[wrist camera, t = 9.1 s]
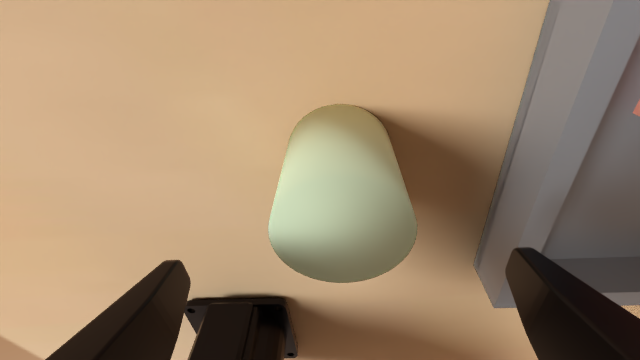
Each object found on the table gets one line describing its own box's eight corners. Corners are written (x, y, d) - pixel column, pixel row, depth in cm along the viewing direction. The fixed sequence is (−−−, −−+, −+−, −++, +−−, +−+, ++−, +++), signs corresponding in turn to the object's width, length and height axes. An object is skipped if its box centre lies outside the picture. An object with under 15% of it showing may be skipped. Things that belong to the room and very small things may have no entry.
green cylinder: (388, 191, 14) (411, 280, 10) (295, 195, 15) (280, 284, 11) (392, 100, 12) (424, 169, 8) (280, 107, 12) (254, 178, 8)
